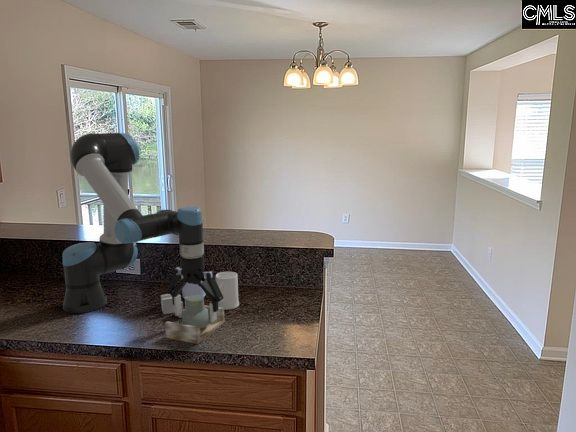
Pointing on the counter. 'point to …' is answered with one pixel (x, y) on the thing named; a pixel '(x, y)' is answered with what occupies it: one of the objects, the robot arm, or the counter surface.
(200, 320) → the air freshener
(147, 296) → the counter surface
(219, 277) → the mug
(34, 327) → the counter surface
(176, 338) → the end holder
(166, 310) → the clip
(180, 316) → the clip
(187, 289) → the white orange spray bottle
